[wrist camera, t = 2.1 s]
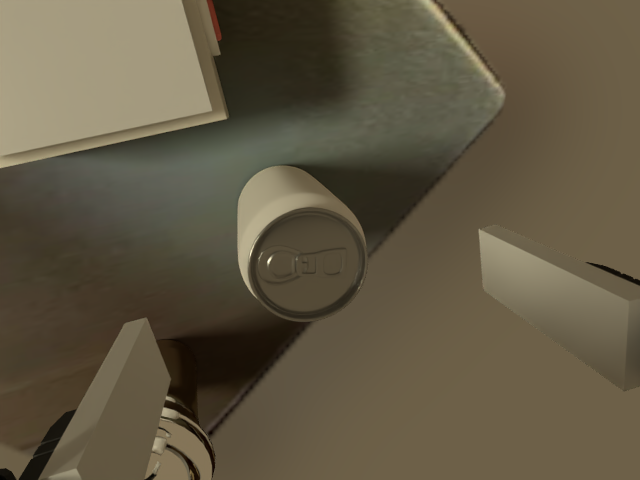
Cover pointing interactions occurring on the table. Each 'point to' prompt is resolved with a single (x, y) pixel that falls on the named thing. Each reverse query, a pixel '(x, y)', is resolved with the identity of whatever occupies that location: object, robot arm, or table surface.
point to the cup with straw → (180, 423)
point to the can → (299, 245)
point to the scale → (103, 73)
